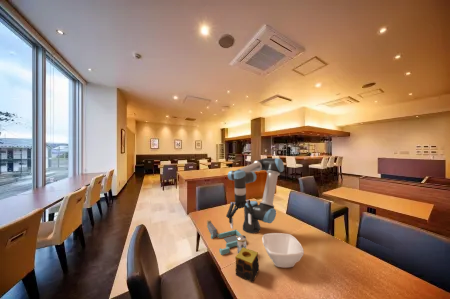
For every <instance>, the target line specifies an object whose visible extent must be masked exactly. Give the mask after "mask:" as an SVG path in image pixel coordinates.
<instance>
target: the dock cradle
mask: <svg viewBox="0 0 450 299" xmlns="http://www.w3.org/2000/svg"><path fill="white" fill-rule="evenodd" d="M239 235H242V234H241V232H239V230H237V229H232V230H229V231H224V232H221V233H218V232H217V237H216V238H219V239H222V238H223V240H224V241H225V248H219V254H220V255H221V256H224V255H227V254H230V252H231V251H230V248H231V249H232V248H233V247H237V236H239ZM210 239H211V240H213V239H214V238H213V235H211V234H210Z"/></svg>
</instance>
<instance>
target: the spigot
mask: <svg viewBox="0 0 450 299" xmlns="http://www.w3.org/2000/svg"><path fill="white" fill-rule="evenodd" d="M236 237H237V246H236V247H237V248H236V249H237V254H238V253H239V252H240V251H241V249H242V248H246V249H247V236H246V235H243V234H241V235H239V236H237V235H236Z"/></svg>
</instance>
